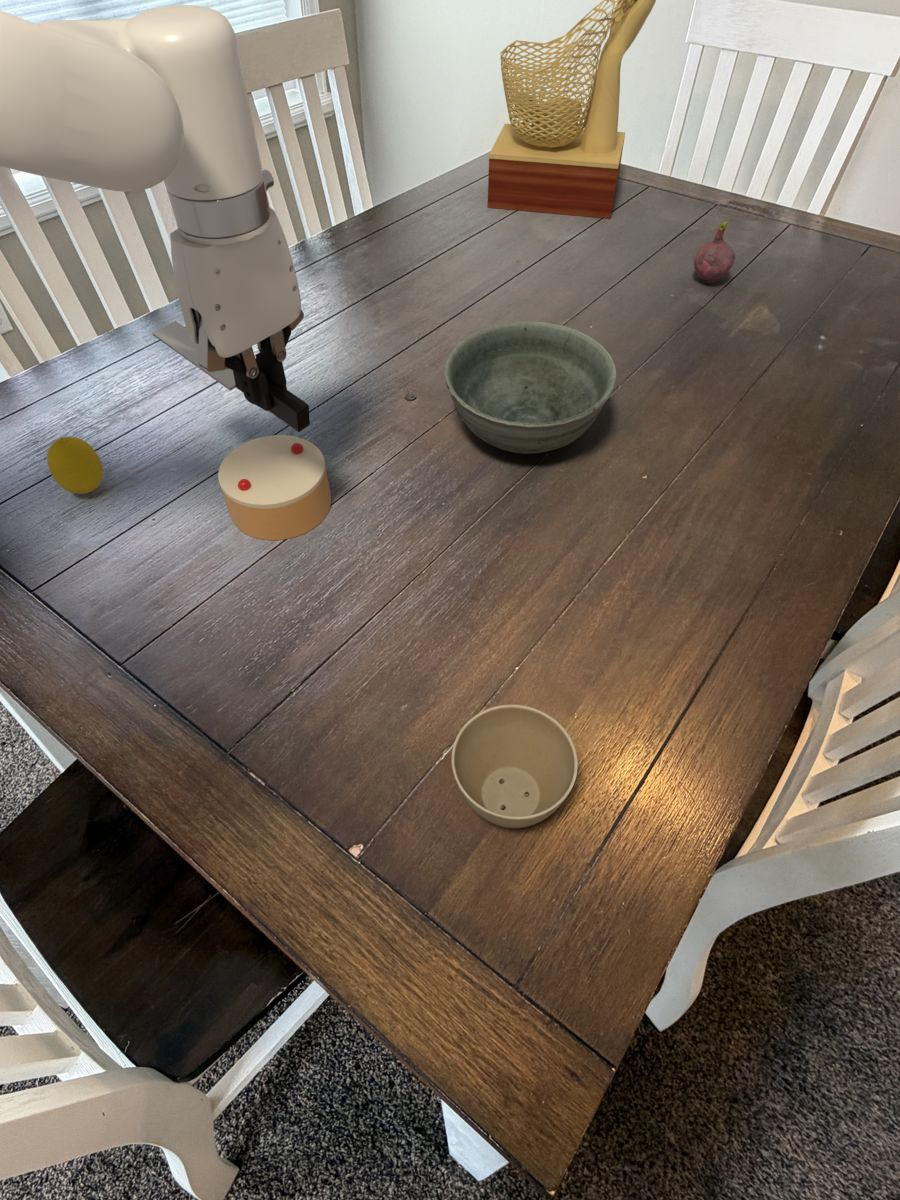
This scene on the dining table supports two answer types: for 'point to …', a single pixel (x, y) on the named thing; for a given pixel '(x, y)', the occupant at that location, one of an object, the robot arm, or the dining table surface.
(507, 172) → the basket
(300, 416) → the knife
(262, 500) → the cake
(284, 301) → the robot arm
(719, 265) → the vegetable
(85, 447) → the lemon
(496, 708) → the flower pot
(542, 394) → the bowl
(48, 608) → the dining table surface
